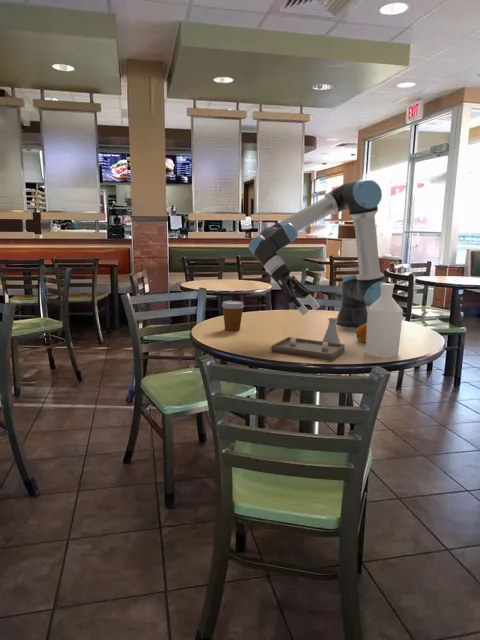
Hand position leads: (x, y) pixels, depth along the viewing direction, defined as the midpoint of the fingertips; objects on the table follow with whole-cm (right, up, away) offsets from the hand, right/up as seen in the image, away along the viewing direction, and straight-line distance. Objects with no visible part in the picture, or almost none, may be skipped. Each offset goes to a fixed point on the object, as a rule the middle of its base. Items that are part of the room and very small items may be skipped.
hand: (311, 311), depth 181 cm
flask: (+7, -13, -1) cm, 15 cm away
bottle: (+23, -16, -13) cm, 31 cm away
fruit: (+22, -13, +3) cm, 25 cm away
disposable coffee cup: (-31, -8, +20) cm, 38 cm away
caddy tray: (-3, -15, -13) cm, 20 cm away
